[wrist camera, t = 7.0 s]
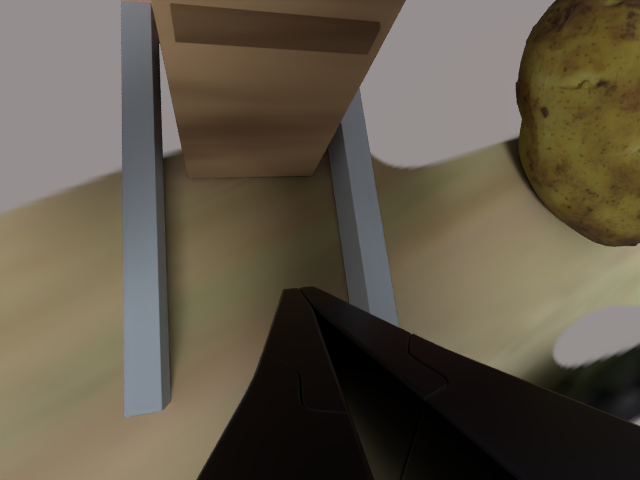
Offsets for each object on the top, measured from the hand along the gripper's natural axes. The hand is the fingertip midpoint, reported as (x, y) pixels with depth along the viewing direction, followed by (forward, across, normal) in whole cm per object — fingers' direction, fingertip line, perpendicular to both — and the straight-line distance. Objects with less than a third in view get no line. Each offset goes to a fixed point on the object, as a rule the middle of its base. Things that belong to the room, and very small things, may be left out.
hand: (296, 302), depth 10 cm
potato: (+12, +18, 0) cm, 21 cm away
